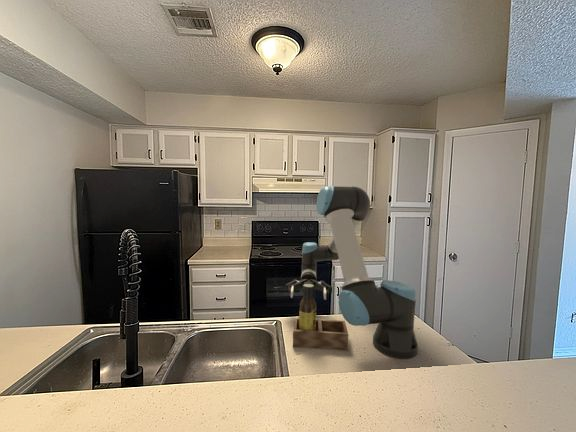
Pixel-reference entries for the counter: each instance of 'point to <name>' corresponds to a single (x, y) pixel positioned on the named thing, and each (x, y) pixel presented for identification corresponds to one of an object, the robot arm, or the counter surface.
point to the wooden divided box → (322, 335)
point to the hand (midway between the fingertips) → (308, 295)
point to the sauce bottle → (307, 309)
